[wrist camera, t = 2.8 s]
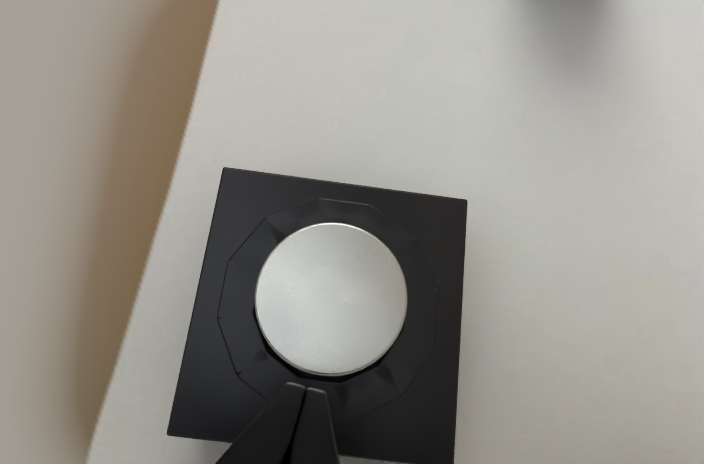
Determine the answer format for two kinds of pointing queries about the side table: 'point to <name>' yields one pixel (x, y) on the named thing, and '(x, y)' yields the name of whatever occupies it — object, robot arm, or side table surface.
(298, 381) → the hob block
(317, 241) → the hob knob
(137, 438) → the side table surface
